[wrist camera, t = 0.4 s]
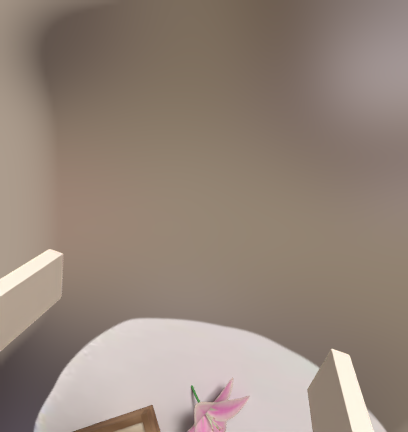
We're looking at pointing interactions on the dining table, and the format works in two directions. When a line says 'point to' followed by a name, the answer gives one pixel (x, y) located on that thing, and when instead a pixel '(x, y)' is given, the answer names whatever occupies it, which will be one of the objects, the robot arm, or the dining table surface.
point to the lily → (216, 411)
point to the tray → (128, 422)
